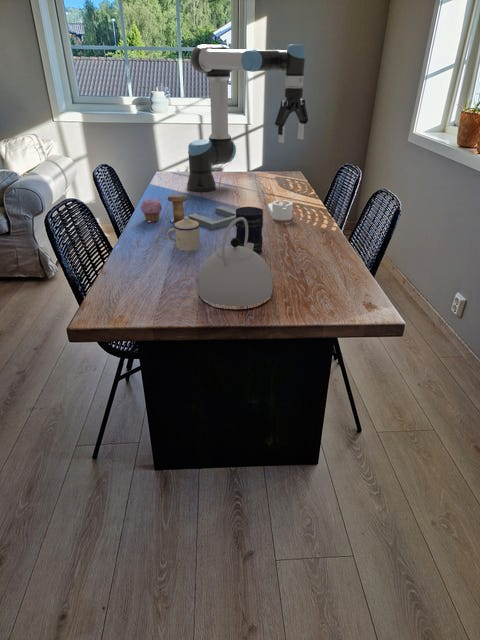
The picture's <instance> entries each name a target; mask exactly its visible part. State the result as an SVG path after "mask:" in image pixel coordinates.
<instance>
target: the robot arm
mask: <svg viewBox="0 0 480 640" xmlns="http://www.w3.org/2000/svg"><path fill="white" fill-rule="evenodd" d="M190 63H191V66H192V68H193V69H194V70H195V71H196V72H198V73H201V74H206V78H207V80H208V81H209V92H210V93H209V95H210V99H209V100H210V101H209V102H210V124H211V127H210V128H211V134H210V135H209V136H208V139H206V138H205V139H204V138H203V139H197V140H192V141H190V143H189V144H188V147H187V148H188V152H187V154H188V164H189V169H188V171H189V175H188V179H187V182H186V189H187V190H189V191H192V192H197V193H198V192H210V191H214V190H216V188H217V186H216V181H215V178H214V175H213V166H218V165H225V164H227V163H230V162H232V161H233V160H234V158H235V157H236V152H237V148H236V144H235V142H234V140H232V136H231V135H230V134H229V108H228V105H229V104H228V97H229V96H228V81H229V80H230V78H231V73H232V72H233V71H243V72H244V71H247V72H252V73H253V72H270V71H271V72H274V71H275V72H276V71H277V72H278V71H282V72H285V81H284V82H285V83H284V86H285V89H284V97H285V98H286V99H285V100H281V101H280V107H279V109H278V113H277V116H276V119H275V122H274V125H275V126H276V127H278V129H277V132H278V133H277V134H278V138H277V142H278V143H279V144H280V143H281V144H285V134H286V133H285V132H286V126H285V124H286V122H287V121H288V118H289V116H290V115H291V113H293V112H295V114H296V117H297V119H298V121H299V123H298V124H297V125H298V127H297V128H298V129H297V140H304V134H305V125H306V124H308V122H309V117H308V116H309V115H308V112H307V108H306V99H305V98H304V99H303V96H304V95H303V92H304V89H303V87H304V75H305V72H304V71H305V65H306V64H305V63H306V45H304V44H300V43H297V44H294V43H293V44H291V43H290V44H288V45H287V48H286V50H285V49H284V50H283V49H282V50H281V49H231V48H230V47H229V46H228V45H226V44H219V43H218V44H199V45H197V46H195V47H194V48H193V49H192V51H191V53H190Z"/></svg>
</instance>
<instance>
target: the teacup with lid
mask: <svg viewBox="0 0 480 640" xmlns="http://www.w3.org/2000/svg"><path fill="white" fill-rule="evenodd" d="M173 226H174V228H173V227H172V228H170V229H168V230H167V232H166V236H167V238H168V239H169V240H170V242H174V243H176V249H177V248H179V249H182V250H194V251H196V250H195V249H197V250H199V249H200V248H201V247H200V246H201V245H200V244H201V243H200V242H201V241H200V240H201V239H200V224H199V223H198V222H197V221H194V220H191V219H189V217H188V215H187V216H184V219H183V220H181V221H178V222H176V223H175V224H173ZM170 232H175V238H172V237H171V236H170ZM198 248H199V249H198ZM179 249H178V250H179Z"/></svg>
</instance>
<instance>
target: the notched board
mask: <svg viewBox="0 0 480 640" xmlns="http://www.w3.org/2000/svg"><path fill="white" fill-rule="evenodd" d="M215 213H216V214H219V215H222V216H225V217H224V218H222V219H219V220H215V219H212V218H210V217H206V216H203V215H200V214H198V213H192V214H189V215H187V217H189V219H191V220H194V221H197V222H198V223H199V226H200V225H201V227H202V226H203V227H204V228H206V229H210V230H212V231H213V230H215V229H220V228H223V227H226V226H229V225H230V223H231V222H232V221H234V220H235V218H236V209H233V208H230V207H226V206H223V205H221V206H220V205H219V206H216V207H215Z"/></svg>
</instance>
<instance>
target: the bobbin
mask: <svg viewBox="0 0 480 640" xmlns="http://www.w3.org/2000/svg"><path fill="white" fill-rule="evenodd" d="M187 200H188V196H187V195H185V194H181V193H178V194H170V195H168V196H167V201H168V202H171V203H172V210H173V211H172V212H173V213H172V214H173V218H174V219H173V218H172V219H173V220H174V221H173V222H172V223H171V224H173V223H176V222H178V221H181V220H183V219H184V217H185V212H184V211H185V210H184V202H185V201H187Z"/></svg>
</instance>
